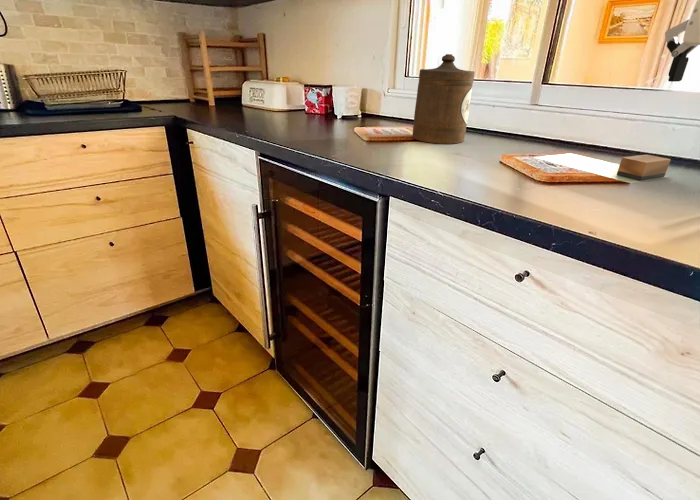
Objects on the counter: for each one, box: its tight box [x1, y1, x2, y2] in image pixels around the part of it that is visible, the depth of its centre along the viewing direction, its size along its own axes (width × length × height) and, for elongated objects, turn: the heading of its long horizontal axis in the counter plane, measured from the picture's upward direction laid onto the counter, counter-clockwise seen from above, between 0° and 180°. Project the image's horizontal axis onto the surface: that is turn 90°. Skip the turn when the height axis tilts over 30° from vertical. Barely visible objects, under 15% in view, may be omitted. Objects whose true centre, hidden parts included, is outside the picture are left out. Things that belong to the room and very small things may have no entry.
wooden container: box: [411, 53, 476, 145], centre depth 110 cm, size 15×15×22 cm
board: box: [532, 152, 670, 184], centre depth 84 cm, size 22×13×1 cm, turn 26°
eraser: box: [617, 153, 672, 182], centre depth 76 cm, size 4×8×4 cm, turn 116°
